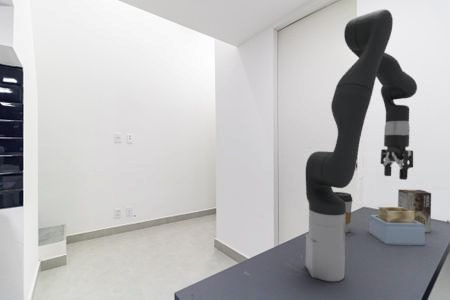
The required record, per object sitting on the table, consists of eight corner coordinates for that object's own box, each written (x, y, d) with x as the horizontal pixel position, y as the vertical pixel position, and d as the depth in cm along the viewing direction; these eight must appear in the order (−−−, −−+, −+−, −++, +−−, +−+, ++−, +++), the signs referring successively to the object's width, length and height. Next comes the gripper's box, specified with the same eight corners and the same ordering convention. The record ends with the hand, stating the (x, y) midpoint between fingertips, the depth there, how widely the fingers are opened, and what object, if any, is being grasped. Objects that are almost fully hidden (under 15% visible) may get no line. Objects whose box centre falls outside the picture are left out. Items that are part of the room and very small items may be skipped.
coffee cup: (328, 231, 94) (329, 194, 94) (329, 225, 102) (330, 190, 101) (351, 235, 90) (352, 197, 90) (351, 228, 98) (352, 193, 97)
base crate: (386, 244, 83) (386, 224, 83) (368, 232, 94) (368, 214, 94) (424, 245, 83) (425, 225, 82) (402, 233, 94) (402, 215, 93)
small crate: (388, 225, 85) (388, 211, 85) (378, 219, 91) (378, 206, 91) (413, 225, 85) (414, 211, 85) (402, 220, 91) (402, 207, 91)
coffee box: (419, 227, 101) (420, 189, 100) (430, 232, 94) (432, 192, 94) (396, 226, 101) (397, 188, 101) (406, 231, 95) (407, 192, 94)
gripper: (374, 134, 95) (373, 174, 95) (399, 133, 80) (397, 180, 81) (394, 134, 94) (392, 175, 95) (422, 133, 80) (420, 180, 81)
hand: (395, 177), depth 88 cm, fingers open, 8 cm apart
